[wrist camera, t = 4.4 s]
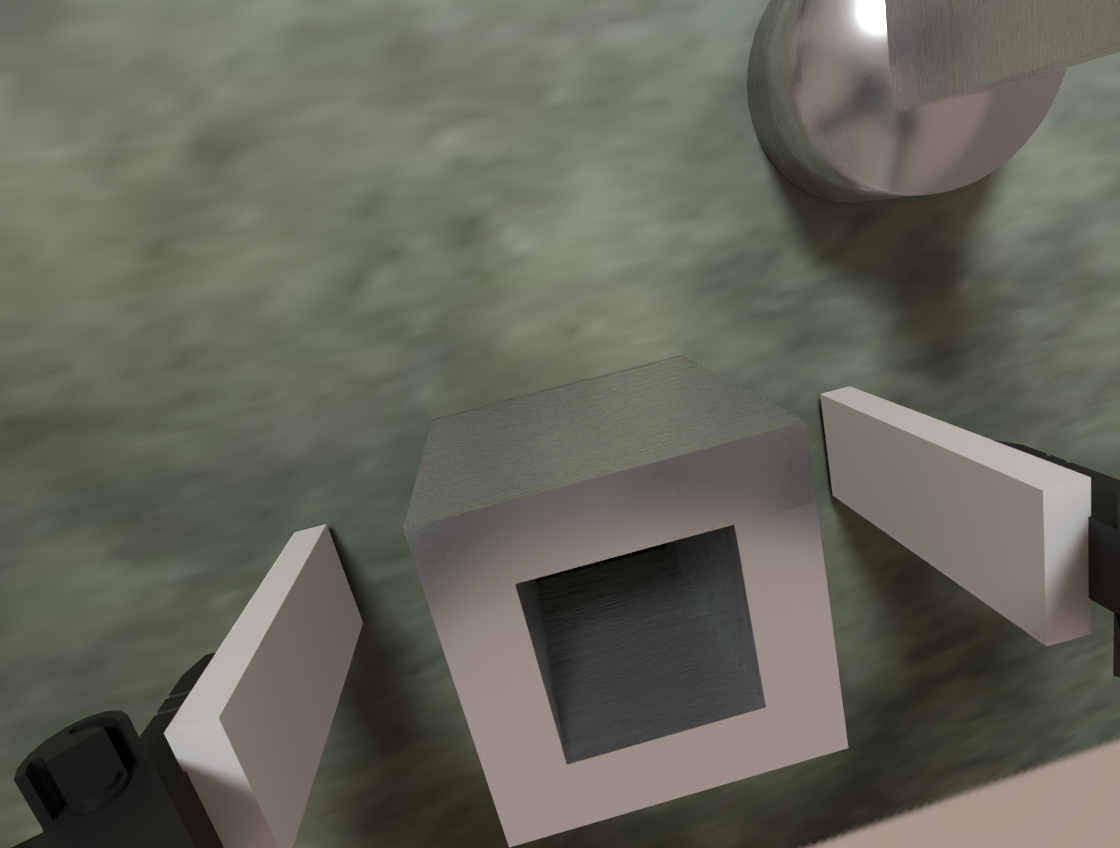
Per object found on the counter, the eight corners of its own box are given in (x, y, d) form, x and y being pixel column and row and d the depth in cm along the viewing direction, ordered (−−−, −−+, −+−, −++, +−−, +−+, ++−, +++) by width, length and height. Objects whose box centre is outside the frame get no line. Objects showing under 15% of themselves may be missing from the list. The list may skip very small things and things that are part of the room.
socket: (498, 639, 17) (509, 847, 11) (432, 420, 15) (403, 528, 9) (723, 578, 17) (848, 748, 11) (682, 355, 15) (805, 421, 10)
